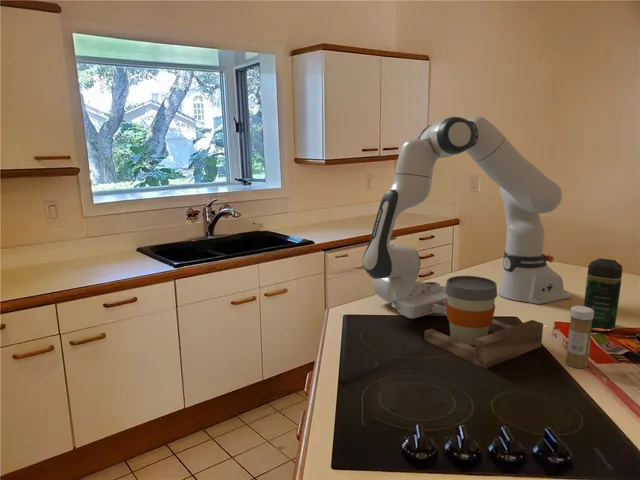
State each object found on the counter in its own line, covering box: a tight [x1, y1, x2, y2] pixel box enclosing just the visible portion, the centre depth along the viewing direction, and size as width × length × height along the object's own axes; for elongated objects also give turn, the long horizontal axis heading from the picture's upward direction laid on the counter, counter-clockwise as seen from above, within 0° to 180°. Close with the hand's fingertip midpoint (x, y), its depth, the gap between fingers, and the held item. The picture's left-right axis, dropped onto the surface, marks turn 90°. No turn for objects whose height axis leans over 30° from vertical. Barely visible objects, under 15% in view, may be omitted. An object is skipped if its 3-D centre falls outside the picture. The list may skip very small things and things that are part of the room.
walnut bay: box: [423, 318, 544, 370], centre depth 119 cm, size 19×21×6 cm
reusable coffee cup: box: [445, 275, 498, 346], centre depth 121 cm, size 12×13×15 cm
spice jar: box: [565, 305, 594, 369], centre depth 106 cm, size 5×5×14 cm
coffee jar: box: [583, 257, 623, 329], centre depth 127 cm, size 10×8×19 cm
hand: (451, 311), depth 126 cm, fingers closed, pressing on reusable coffee cup
